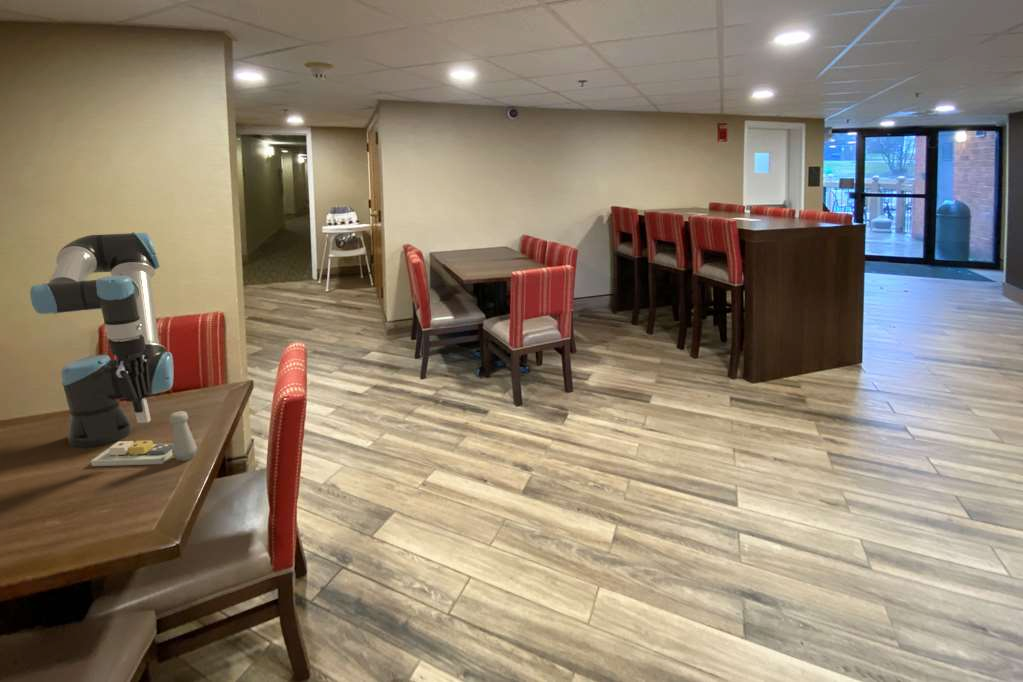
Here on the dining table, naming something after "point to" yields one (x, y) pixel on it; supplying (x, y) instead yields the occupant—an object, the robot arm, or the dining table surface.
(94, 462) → the tile board
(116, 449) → the tile
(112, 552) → the dining table surface
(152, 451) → the tile
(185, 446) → the salt shaker
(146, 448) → the tile
